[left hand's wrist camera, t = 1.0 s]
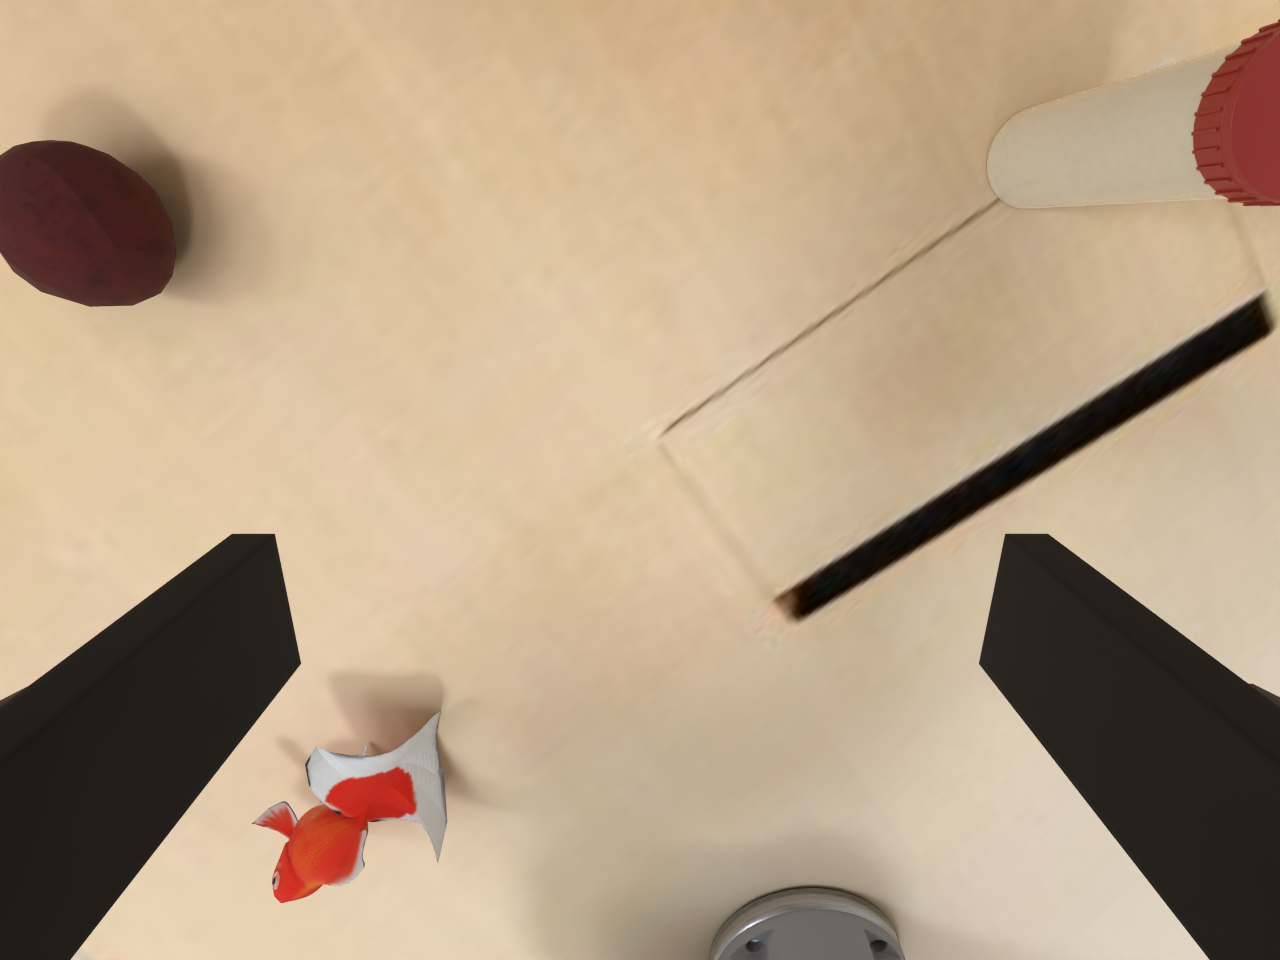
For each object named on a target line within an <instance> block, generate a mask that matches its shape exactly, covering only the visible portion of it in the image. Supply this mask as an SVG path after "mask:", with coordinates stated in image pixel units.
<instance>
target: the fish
mask: <svg viewBox="0 0 1280 960" xmlns="http://www.w3.org/2000/svg"><path fill="white" fill-rule="evenodd" d="M440 712H441V710H440V711H439V712H437V713H436V714H435V715H434V716H433V717H432V718H431V719H430V720H429V721H428V722H427V723H426V724H425V725H424V726H423V727H422V728H421V729H420V730H419V732H418V733H416V734H415V735H414V736H412V737H411V738H410V739H408V740H407V741H406V742H404V743H403V744H402V745H400V746H399V747H397V748H396V749H394V750H393V751H392V752H388V753H384V754H379V755H374V756H366V752H367V747H368V745H366V747H365V750H364V752H363V755H362V756H350V755H344V754H337V753H331V752H328V751H326V750H324V749H322V748H320V747H317V746H316V747H315V749H314V750H313V752H312V754H311V756H310V757H309V759H308V761H307V762H306V764H305V766H306V771H307V777H308V782H309V786H310V787H311V789H312V790H313V792H314V793H315V795H316V796H317V797H318V798H319V799H320V800H321V802H320V804H319V806H316V807H314V808H312V809H310V810H309V811H308V812H306V813H305V814H304V815H303V816H302V817H301V818H300V819H299V821H298V820H297V818H296V816H295V813H294V812H293V810H292V808H291V807H290V806H289V804H288V803H287V802H281V803H278V804H276V805H275V806H273V807H271V808H269V809H268V810H267V811H265V812H264V813H263V814H262V815H261V816H260V817H259V818H258V819H257V820H256V821H255V822H253V823H252V824H257V825H259V826H262V827H268V828H270V829H272V830H276V831H278V832H280V833H281V834H283V835H284V836H286V837H288V838H289V841H288V842H287V843H286V844H285V846H284V848H283V851H282V854H281V856H280V859H279V861H278V863H277V866H276V868H275V871H274V874H273V879H272V885H273V891H274V896H275V897H276V899H277V900H278V901H279V902H280V903H284V902H288V901H293V900H298V899H301V898H304V897H307V896H309V895H311V894H313V893H314V892H315V891H317V890H318V889H319V888H320V887H321V886H322V885H323V884H325V885H326V884H327V885H331V886H340V885H343V884H347V883H350V882H351V881H352V880H353V879H355V878H356V877H357V876H358V874H359V873H360V872H361V871H362V869H363V868H364V865H365V863H364V861H363V848H364V844H365V840H366V837H367V834H368V823H367V821H369V822H376V821H384V820H391V819H402V820H407V821H415V822H419V823H420V824H421V825H422V827H423V828H424V829H425V830H426V832H427V833H428V835H429V838H430V840H431V842H432V844H433V847H434V850H435V853H436V857H437V862H438V861H439V856H440V851H441V847H442V842H443V838H444V833H445V829H446V824H447V813H446V799H445V786H444V778H443V772H442V767H441V762H440V757H439V751H438V745H437V739H436V732H437V727H438V721H439V715H440Z"/></svg>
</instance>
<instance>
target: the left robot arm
mask: <svg viewBox="0 0 1280 960" xmlns="http://www.w3.org/2000/svg"><path fill="white" fill-rule="evenodd" d="M300 664H301V661H300V656H299V651H298V646H297V641H296V636H295V632H294V627H293V622H292V617H291V612H290V607H289V602H288V597H287V592H286V587H285V582H284V577H283V572H282V567H281V562H280V558H279V553H278V548H277V543H276V538H275V534H231V535H230V536H229V537H227V538H226V539H225V540H223V541H222V542H221V543H219V544H218V545H217V546H215V547H214V548H213V549H211V550H210V551H209V552H207V553H206V554H205V555H203V556H202V557H201V558H199V559H198V560H197V561H195V562H194V563H193V564H191V565H190V566H189V567H187V568H186V569H185V570H183V571H182V572H181V573H179V574H178V575H177V576H175V577H174V578H173V579H171V580H170V581H168V582H167V583H166V584H164V585H163V586H162V587H160V588H159V589H158V590H156V591H155V592H154V593H152V594H151V595H150V596H148V597H147V598H146V599H144V600H143V601H142V602H140V603H139V604H138V605H136V606H135V607H134V608H132V609H131V610H130V611H128V612H127V613H126V614H124V615H123V616H122V617H120V618H119V619H118V620H116V621H115V622H114V623H112V624H111V625H110V626H108V627H107V628H106V629H104V630H103V631H102V632H100V633H99V634H98V635H96V636H95V637H94V638H92V639H91V640H90V641H88V642H87V643H86V644H84V645H83V646H82V647H80V648H79V649H78V650H76V651H75V652H74V653H72V654H71V655H70V656H68V657H67V658H66V659H64V660H63V661H62V662H60V663H59V664H58V665H56V666H55V667H54V668H52V669H51V670H50V671H48V672H47V673H46V674H44V675H43V676H42V677H40V678H39V679H38V680H36V681H35V682H34V683H32V684H31V685H30V686H28V687H26V688H24V689H22V690H20V691H18V692H16V693H14V694H12V695H10V696H8V697H6V698H4V699H2V700H0V960H71V958H72V957H73V956H74V954H75V953H76V952H77V951H78V949H79V948H80V947H81V945H82V944H83V943H84V942H85V940H86V939H87V938H88V936H89V935H90V934H91V933H92V931H93V930H94V929H95V927H96V926H97V925H98V924H99V922H100V921H101V920H102V918H103V917H104V916H105V915H106V913H107V912H108V911H109V909H110V908H111V907H112V906H113V904H114V903H115V902H116V900H117V899H118V898H119V897H120V895H121V894H122V893H123V891H124V890H125V889H126V888H127V886H128V885H129V884H130V883H131V881H132V880H133V879H134V877H135V876H136V875H137V874H138V872H139V871H140V870H141V868H142V867H143V866H144V865H145V863H146V862H147V861H148V859H149V858H150V857H151V856H152V854H153V853H154V852H155V850H156V849H157V848H158V847H159V845H160V844H161V843H162V841H163V840H164V839H165V838H166V836H167V835H168V834H169V832H170V831H171V830H172V829H173V827H174V826H175V825H176V823H177V822H178V821H179V820H180V818H181V817H182V816H183V814H184V813H185V812H186V811H187V809H188V808H189V807H190V806H191V804H192V803H193V802H194V800H195V799H196V798H197V797H198V795H199V794H200V793H201V791H202V790H203V789H204V788H205V786H206V785H207V784H208V782H209V781H210V780H211V779H212V777H213V776H214V775H215V773H216V772H217V771H218V770H219V768H220V767H221V766H222V764H223V763H224V762H225V761H226V759H227V758H228V757H229V755H230V754H231V753H232V752H233V750H234V749H235V748H236V746H237V745H238V744H239V743H240V741H241V740H242V739H243V737H244V736H245V735H246V734H247V732H248V731H249V730H250V729H251V727H252V726H253V725H254V723H255V722H256V721H257V720H258V718H259V717H260V716H261V714H262V713H263V712H264V711H265V709H266V708H267V707H268V705H269V704H270V703H271V702H272V700H273V699H274V698H275V696H276V695H277V694H278V693H279V691H280V690H281V689H282V687H283V686H284V685H285V684H286V682H287V681H288V680H289V678H290V677H291V676H292V675H293V673H294V672H295V671H296V669H297V668H298V667H299V666H300ZM979 664H980V666H981V667H982V668H983V669H984V671H985V672H986V673H987V675H988V676H989V677H990V678H991V680H992V681H993V682H994V684H995V685H996V686H997V687H998V689H999V690H1000V691H1001V693H1002V694H1003V695H1004V696H1005V698H1006V699H1007V700H1008V702H1009V703H1010V704H1011V705H1012V707H1013V708H1014V709H1015V711H1016V712H1017V713H1018V714H1019V716H1020V717H1021V718H1022V720H1023V721H1024V722H1025V723H1026V725H1027V726H1028V727H1029V729H1030V730H1031V731H1032V732H1033V734H1034V735H1035V736H1036V738H1037V739H1038V740H1039V741H1040V743H1041V744H1042V745H1043V746H1044V748H1045V749H1046V750H1047V752H1048V753H1049V754H1050V755H1051V757H1052V758H1053V759H1054V761H1055V762H1056V763H1057V764H1058V766H1059V767H1060V768H1061V770H1062V771H1063V772H1064V773H1065V775H1066V776H1067V777H1068V779H1069V780H1070V781H1071V782H1072V784H1073V785H1074V786H1075V788H1076V789H1077V790H1078V791H1079V793H1080V794H1081V795H1082V797H1083V798H1084V799H1085V800H1086V802H1087V803H1088V804H1089V806H1090V807H1091V808H1092V809H1093V811H1094V812H1095V813H1096V815H1097V816H1098V817H1099V818H1100V820H1101V821H1102V822H1103V823H1104V825H1105V826H1106V827H1107V829H1108V830H1109V831H1110V832H1111V834H1112V835H1113V836H1114V838H1115V839H1116V840H1117V841H1118V843H1119V844H1120V845H1121V847H1122V848H1123V849H1124V850H1125V852H1126V853H1127V854H1128V856H1129V857H1130V858H1131V859H1132V861H1133V862H1134V863H1135V865H1136V866H1137V867H1138V868H1139V870H1140V871H1141V872H1142V874H1143V875H1144V876H1145V877H1146V879H1147V880H1148V881H1149V883H1150V884H1151V885H1152V886H1153V888H1154V889H1155V890H1156V892H1157V893H1158V894H1159V895H1160V897H1161V898H1162V899H1163V900H1164V902H1165V903H1166V904H1167V906H1168V907H1169V908H1170V909H1171V911H1172V912H1173V913H1174V915H1175V916H1176V917H1177V918H1178V920H1179V921H1180V922H1181V924H1182V925H1183V926H1184V927H1185V929H1186V930H1187V931H1188V933H1189V934H1190V935H1191V936H1192V938H1193V939H1194V940H1195V942H1196V943H1197V944H1198V945H1199V947H1200V948H1201V949H1202V951H1203V952H1204V953H1205V954H1206V956H1207V957H1208V958H1209V960H1280V697H1278V696H1276V695H1274V694H1272V693H1270V692H1268V691H1266V690H1264V689H1262V688H1260V687H1258V686H1256V685H1254V684H1248V683H1246V682H1245V681H1244V680H1242V679H1241V678H1240V677H1238V676H1237V675H1236V674H1234V673H1233V672H1232V671H1230V670H1229V669H1228V668H1226V667H1225V666H1224V665H1222V664H1221V663H1220V662H1218V661H1217V660H1216V659H1214V658H1213V657H1212V656H1210V655H1209V654H1208V653H1206V652H1205V651H1204V650H1202V649H1201V648H1200V647H1198V646H1197V645H1196V644H1194V643H1193V642H1192V641H1190V640H1189V639H1188V638H1186V637H1185V636H1184V635H1182V634H1181V633H1180V632H1178V631H1177V630H1176V629H1174V628H1173V627H1172V626H1170V625H1169V624H1168V623H1166V622H1165V621H1164V620H1162V619H1161V618H1160V617H1158V616H1157V615H1156V614H1154V613H1153V612H1152V611H1150V610H1149V609H1148V608H1146V607H1145V606H1144V605H1142V604H1141V603H1140V602H1138V601H1137V600H1136V599H1134V598H1133V597H1132V596H1130V595H1129V594H1128V593H1126V592H1125V591H1124V590H1122V589H1121V588H1120V587H1118V586H1117V585H1116V584H1114V583H1113V582H1112V581H1110V580H1109V579H1107V578H1106V577H1105V576H1103V575H1102V574H1101V573H1099V572H1098V571H1097V570H1095V569H1094V568H1093V567H1091V566H1090V565H1089V564H1087V563H1086V562H1085V561H1083V560H1082V559H1081V558H1079V557H1078V556H1077V555H1075V554H1074V553H1073V552H1071V551H1070V550H1069V549H1067V548H1066V547H1065V546H1063V545H1062V544H1061V543H1059V542H1058V541H1057V540H1055V539H1054V538H1053V537H1051V536H1050V535H1049V534H1005V538H1004V543H1003V548H1002V553H1001V558H1000V562H999V567H998V572H997V577H996V582H995V587H994V592H993V597H992V602H991V607H990V612H989V617H988V622H987V627H986V632H985V636H984V641H983V646H982V651H981V656H980V661H979ZM710 960H905V958H904V955H903V952H902V949H901V946H900V944H899V941H898V938H897V935H896V933H895V930H894V928H893V926H892V924H891V923H890V921H889V920H888V918H887V917H886V916H885V915H884V914H883V913H882V912H881V911H880V910H879V909H878V908H876V907H875V906H874V905H872V904H871V903H869V902H867V901H865V900H863V899H861V898H859V897H857V896H854V895H852V894H849V893H845V892H841V891H837V890H831V889H823V888H801V889H792V890H787V891H782V892H778V893H774V894H771V895H768V896H765V897H763V898H760V899H758V900H756V901H754V902H752V903H750V904H748V905H746V906H745V907H743V908H742V909H740V910H739V911H737V912H736V913H735V914H734V915H733V916H731V917H730V918H729V919H728V920H727V921H726V922H725V924H724V925H723V926H722V927H721V929H720V930H719V932H718V933H717V935H716V937H715V939H714V942H713V944H712V948H711V954H710Z"/></svg>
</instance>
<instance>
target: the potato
mask: <svg viewBox="0 0 1280 960" xmlns="http://www.w3.org/2000/svg"><path fill="white" fill-rule="evenodd" d="M0 253H1V254H2V256H3V257H4V259H5V260H6V262H7V263H8V264H9V266H10V267H11V269H12V270H13V272H15V273H16V274H17V275H19V276H20V277H21V278H23V279H24V280H26V281H27V282H28V283H30V284H31V285H32V286H34V287H35V288H37V289H38V290H39V291H41V292H44V293H47V294H50V295H54V296H57V297H60V298H63V299H67V300H70V301H73V302H76V303H80V304H83V305H86V306H90V307H92V306H131V305H135V304H137V303H139V302H142V301H144V300H146V299H149V298H151V297H153V296H155V295H157V294H160V293H161V292H162V291H163V289H164V288H165V286H166V285H167V283H168V282H169V280H170V279H171V277H172V274H173V268H174V262H175V256H176V250H175V245H174V239H173V233H172V227H171V222H170V220H169V218H168V215H167V213H166V211H165V209H164V207H163V205H162V203H161V201H160V199H159V197H158V195H157V193H156V191H155V190H154V189H153V188H152V187H151V186H150V185H149V184H148V183H146V182H145V181H144V180H143V179H142V178H141V177H140V176H139V175H138V174H137V173H136V172H134V171H133V170H131V169H130V168H128V167H127V166H125V165H124V164H122V163H121V162H119V161H118V160H116V159H115V158H113V157H112V156H110V155H109V154H106V153H104V152H101V151H98V150H96V149H93V148H90V147H88V146H84V145H81V144H78V143H74V142H69V141H54V140H47V141H35V142H29V143H25V144H21V145H17V146H14V147H12V148H11V149H9V150H8V151H6V152H5V153H3V154H2V155H0Z"/></svg>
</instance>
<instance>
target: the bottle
mask: <svg viewBox="0 0 1280 960" xmlns="http://www.w3.org/2000/svg"><path fill="white" fill-rule="evenodd" d="M1240 45H1241V42H1239V43H1236V44H1233V45H1229V46H1226V47H1223V48H1220V49H1216V50H1213V51H1210V52H1207V53H1204V54H1200V55H1197V56H1194V57H1191V58H1188V59H1184V60H1181V61H1178V62H1175V63H1171V64H1168V65H1165V66H1162V67H1159V68H1155V69H1152V70H1149V71H1146V72H1142V73H1139V74H1136V75H1133V76H1130V77H1126V78H1123V79H1120V80H1117V81H1114V82H1110V83H1107V84H1104V85H1101V86H1097V87H1094V88H1091V89H1088V90H1085V91H1081V92H1078V93H1075V94H1072V95H1068V96H1065V97H1062V98H1059V99H1056V100H1052V101H1049V102H1046V103H1043V104H1040V105H1036V106H1033V107H1030V108H1027V109H1025V110H1023V111H1021V112H1019V113H1017V114H1016V115H1014V116H1013V117H1012V118H1010V119H1009V120H1008V121H1007V122H1006V123H1005V124H1004V125H1003V126H1002V128H1001V129H1000V130H999V132H998V133H997V135H996V136H995V138H994V140H993V142H992V145H991V147H990V150H989V154H988V160H987V175H988V179H989V183H990V185H991V188H992V190H993V191H994V193H995V194H996V195H997V197H998V198H999V199H1000V200H1002V201H1003V202H1004V203H1006V204H1007V205H1010V206H1012V207H1015V208H1020V209H1034V208H1054V207H1073V206H1093V205H1112V204H1132V203H1151V202H1171V201H1190V200H1210V199H1228V198H1226V197H1224V196H1222V195H1215V194H1214V193H1215V192H1216V191H1215V190H1214V189H1213V188H1212V187H1211V186H1210V185H1209V184H1204V181H1205V179H1204V178H1203V176H1202V175H1201V173H1200V170H1198V171H1197V170H1196V167H1198V166H1197V163H1196V160H1195V155H1194V154H1192V151H1193V150H1194V149H1193V136H1191V132H1193V130H1194V122H1195V118H1196V116H1194V114H1195V112H1197V110H1198V107H1199V104H1200V101H1201V98H1202V96H1201V94H1202V92H1205V90H1206V88H1207V86H1208V84H1209V82H1210V81H1211V79H1212V77H1211V75H1212V74H1213V73H1214V72H1216V71H1217V70H1218V69H1219V67H1220V66H1221V65H1222V64H1223V62H1224V61H1225V60H1226V59H1225V57H1226V56H1227V55H1229V54H1232V53H1233V52H1234V51H1235V50H1236V49H1237V48H1238V47H1239V46H1240Z"/></svg>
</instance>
